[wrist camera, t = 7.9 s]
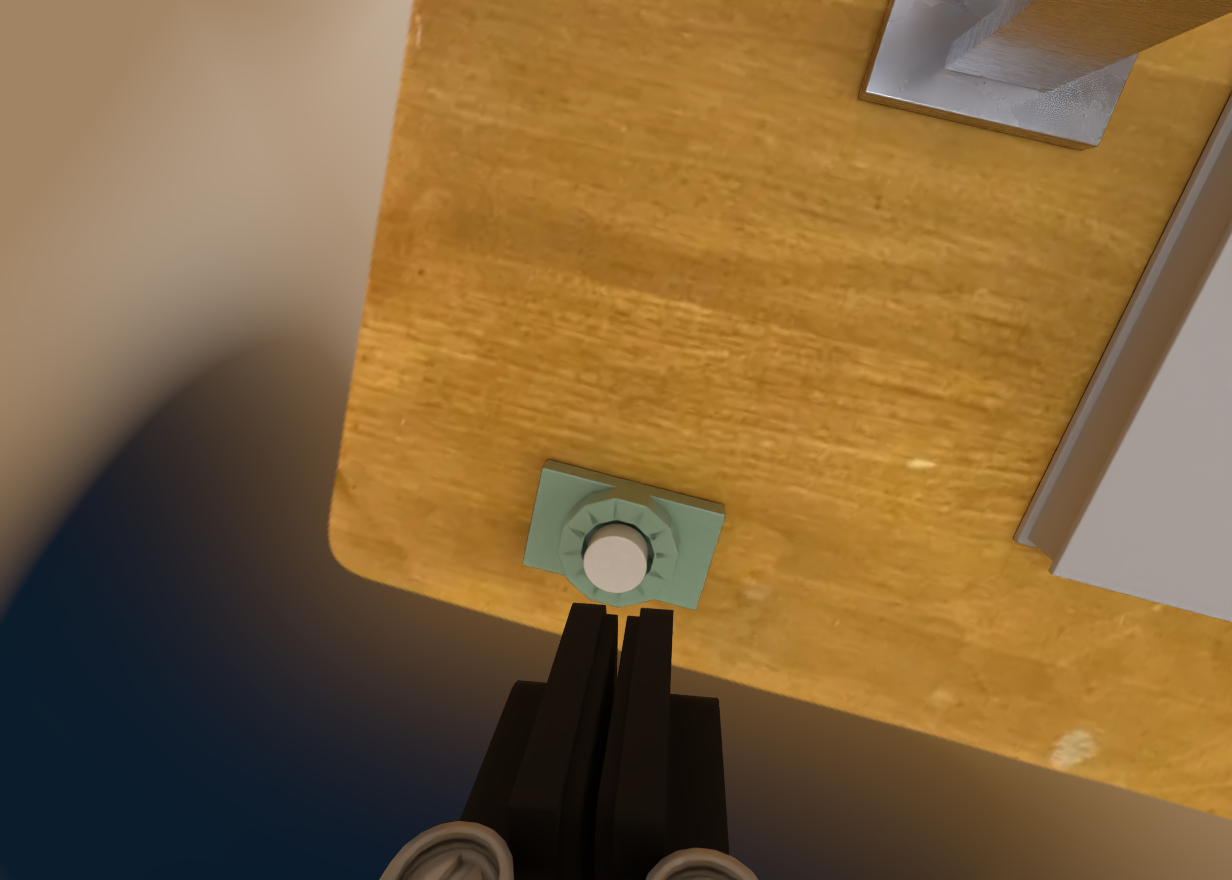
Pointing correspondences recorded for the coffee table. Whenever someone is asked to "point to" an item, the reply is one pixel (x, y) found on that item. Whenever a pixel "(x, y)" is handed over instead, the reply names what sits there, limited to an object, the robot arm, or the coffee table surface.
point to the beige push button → (616, 558)
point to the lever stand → (1021, 60)
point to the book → (1157, 423)
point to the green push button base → (593, 500)
